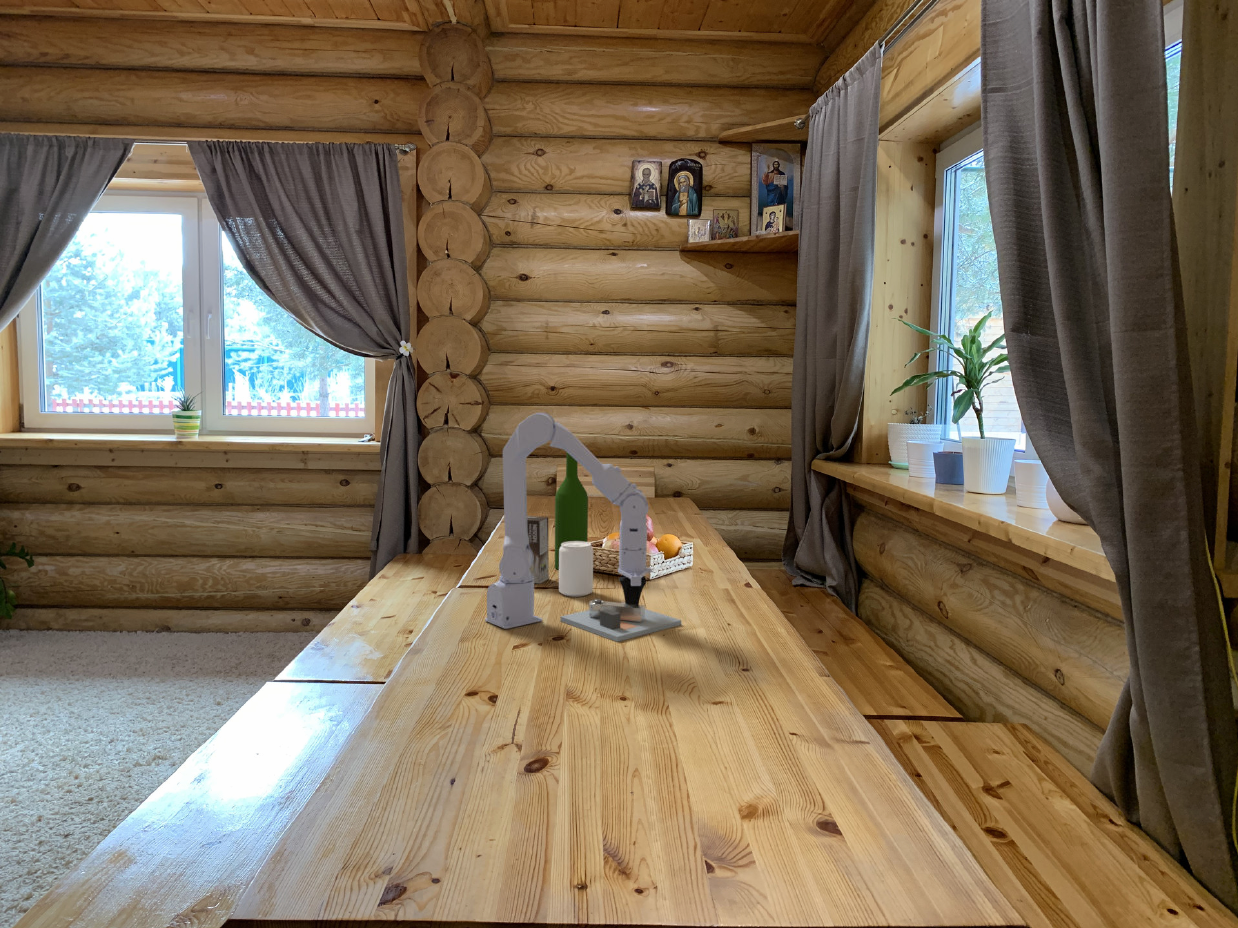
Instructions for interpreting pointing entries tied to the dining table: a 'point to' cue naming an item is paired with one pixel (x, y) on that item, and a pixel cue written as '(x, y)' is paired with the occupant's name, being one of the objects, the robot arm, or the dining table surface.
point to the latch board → (620, 624)
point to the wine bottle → (570, 509)
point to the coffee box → (539, 547)
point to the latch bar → (617, 610)
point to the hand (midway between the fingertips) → (631, 611)
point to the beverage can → (576, 568)
